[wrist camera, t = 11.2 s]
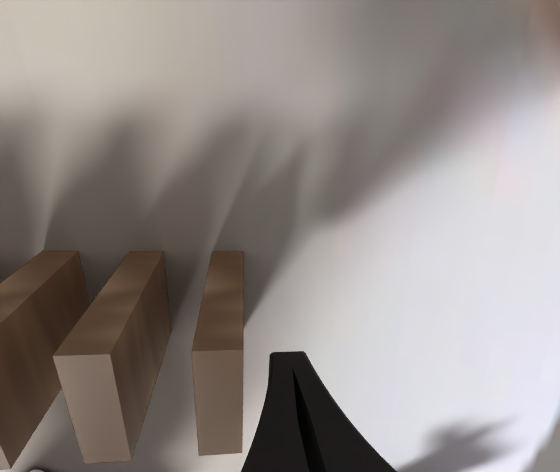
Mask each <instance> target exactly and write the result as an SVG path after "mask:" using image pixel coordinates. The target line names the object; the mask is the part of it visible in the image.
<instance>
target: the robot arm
mask: <svg viewBox="0 0 560 472" xmlns="http://www.w3.org/2000/svg"><path fill="white" fill-rule="evenodd" d="M30 472H44V471H42V470H32V471H30ZM241 472H397V471H396V470H394V469H393V468H392V467H391V466H390V465H389V464H388V463H387V462H386V461H385V460H384V459H383V458H382V457H381V456H380V455H379V454H378V453H377V452H376V451H375V449H374V448H373V447H372V446H371V445H370V444H369V443H368V442H367V441H366V440H365V438H364V437H363V436H362V435H361V434H360V433H359V432H358V430H357V429H356V428H355V427H354V426H353V424H352V423H351V422H350V421H349V419H348V418H347V417H346V415H345V414H344V413H343V411H342V410H341V409H340V408H339V406H338V405H337V403H336V402H335V401H334V399H333V398H332V396H331V395H330V393H329V392H328V390H327V389H326V387H325V386H324V384H323V383H322V381H321V380H320V378H319V376H318V375H317V373H316V371H315V370H314V368H313V366H312V364H311V362H310V361H309V359H308V357H307V355H306V353H305V352H304V351H298V352H273V353H271V354H270V360H269V377H268V388H267V393H266V398H265V402H264V406H263V410H262V413H261V417H260V421H259V424H258V427H257V430H256V433H255V436H254V439H253V442H252V445H251V448H250V450H249V453H248V455H247V458H246V461H245V463H244V466H243V468H242V470H241Z"/></svg>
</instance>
